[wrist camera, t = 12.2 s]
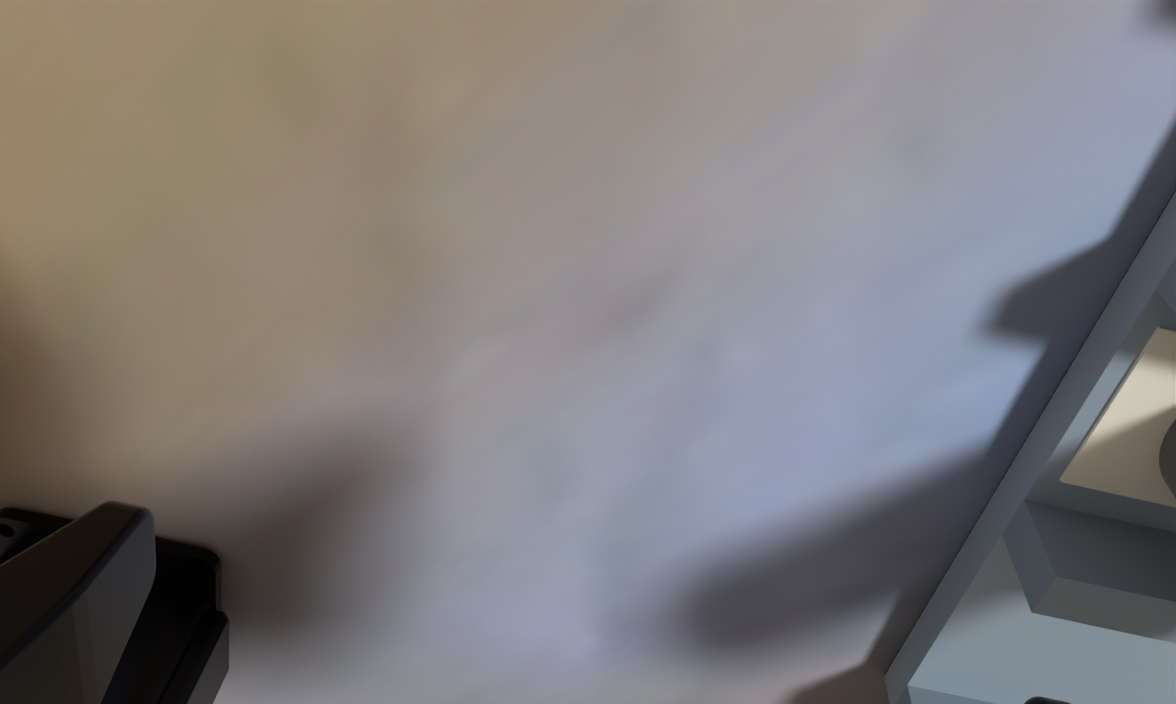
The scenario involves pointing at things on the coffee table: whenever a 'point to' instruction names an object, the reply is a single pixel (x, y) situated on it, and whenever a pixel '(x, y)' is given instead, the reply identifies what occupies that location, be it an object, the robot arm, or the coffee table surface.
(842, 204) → the coffee table surface
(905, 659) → the grey divided tray
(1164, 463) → the grey cylinder
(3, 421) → the coffee table surface
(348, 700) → the coffee table surface
